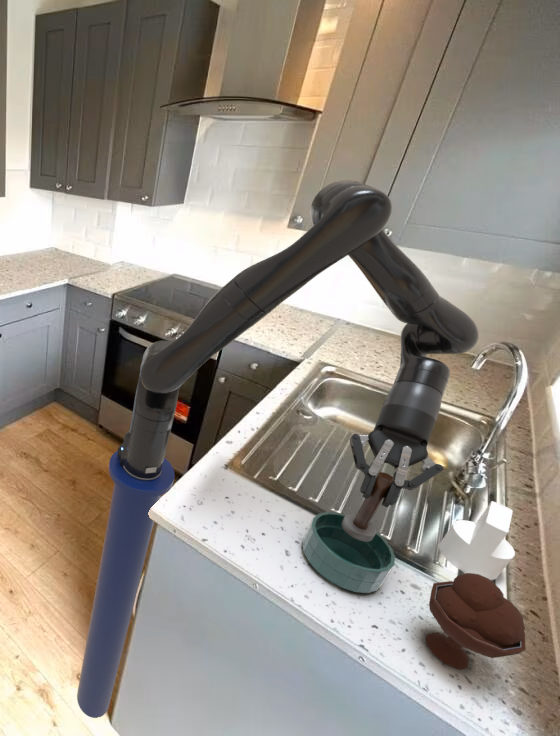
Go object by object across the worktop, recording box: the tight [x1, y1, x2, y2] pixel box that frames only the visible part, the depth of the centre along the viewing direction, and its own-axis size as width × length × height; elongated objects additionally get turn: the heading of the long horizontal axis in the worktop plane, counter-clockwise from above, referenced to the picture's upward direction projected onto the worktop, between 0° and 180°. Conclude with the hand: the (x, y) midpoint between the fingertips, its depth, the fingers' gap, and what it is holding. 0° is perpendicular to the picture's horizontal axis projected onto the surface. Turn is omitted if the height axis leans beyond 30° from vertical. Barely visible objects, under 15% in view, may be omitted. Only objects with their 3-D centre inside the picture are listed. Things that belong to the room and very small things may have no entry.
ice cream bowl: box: [425, 573, 527, 670], centre depth 65 cm, size 11×11×15 cm
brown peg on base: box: [341, 471, 394, 542], centre depth 76 cm, size 5×5×13 cm
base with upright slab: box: [438, 500, 516, 581], centre depth 82 cm, size 9×9×12 cm
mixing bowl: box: [301, 511, 396, 594], centre depth 81 cm, size 13×13×6 cm
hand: (375, 501), depth 73 cm, fingers closed on brown peg on base
